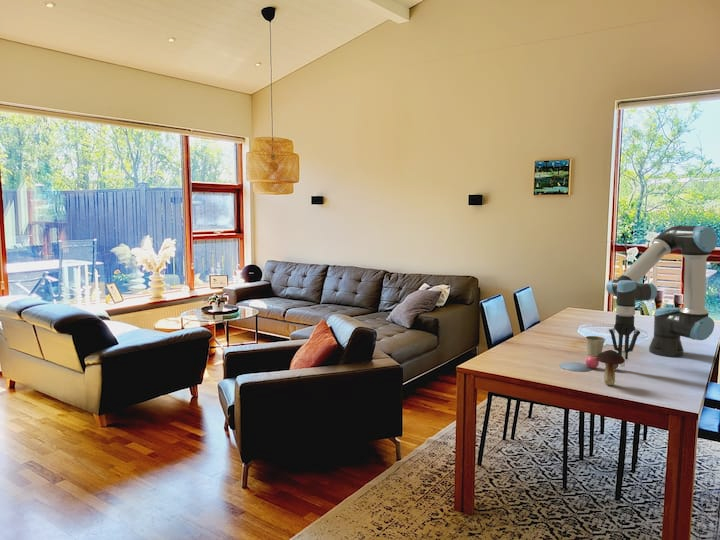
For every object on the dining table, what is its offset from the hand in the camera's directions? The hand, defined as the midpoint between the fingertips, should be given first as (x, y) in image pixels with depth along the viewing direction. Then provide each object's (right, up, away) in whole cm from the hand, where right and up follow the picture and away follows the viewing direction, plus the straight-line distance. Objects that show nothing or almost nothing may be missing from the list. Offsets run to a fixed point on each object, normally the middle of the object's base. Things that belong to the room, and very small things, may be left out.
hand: (622, 365), depth 240 cm
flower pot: (-1, +1, +26) cm, 26 cm away
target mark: (-19, -2, +6) cm, 20 cm away
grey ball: (-4, +1, +1) cm, 4 cm away
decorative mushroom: (-15, -5, -19) cm, 24 cm away
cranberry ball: (-12, +1, +4) cm, 13 cm away
